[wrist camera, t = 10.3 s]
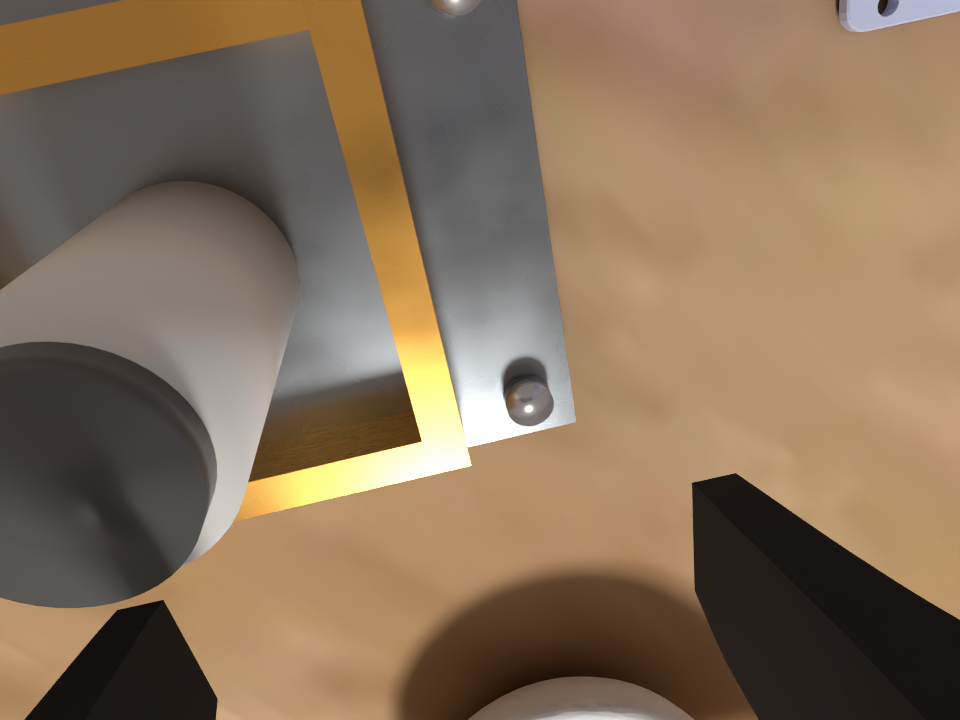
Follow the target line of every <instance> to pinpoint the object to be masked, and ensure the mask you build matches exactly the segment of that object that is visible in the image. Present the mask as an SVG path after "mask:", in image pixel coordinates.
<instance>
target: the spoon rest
mask: <svg viewBox="0 0 960 720" xmlns="http://www.w3.org/2000/svg"><path fill="white" fill-rule="evenodd" d="M468 720H694V719H693V718H692V717H691V716H689V715H688V714H687V713H685V712H684V711H683V710H682V709H680V708H679V707H677V706H676V705H674V704H673V703H671V702H670V701H668V700H667V699H665V698H663V697H662V696H660V695H658V694H656V693H654V692H652V691H650V690H648V689H645V688H643V687H641V686H638V685H635V684H632V683H628V682H624V681H620V680H616V679H610V678H601V677H580V676H578V677H561V678H555V679H550V680H545V681H541V682H537V683H534V684H530V685H527V686H524V687H521V688H519V689H517V690H514V691H512V692H510V693H508V694H506V695H504V696H502V697H500V698H498V699H497V700H495V701H493V702H492V703H490V704H488V705H487V706H485V707H483V708H482V709H481V710H480V711H478V712H477V713H476V714H474V715H473V716H472V717H471V718H469V719H468Z"/></svg>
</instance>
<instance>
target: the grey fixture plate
mask: <svg viewBox="0 0 960 720" xmlns="http://www.w3.org/2000/svg"><path fill="white" fill-rule="evenodd" d="M170 181H194V182H202V183H207V184H211V185H215V186H218V187H221V188H224V189H226V190H229V191H232V192H234V193H236V194H237V195H239V196H241V197H243V198H245V199H247V200H248V201H250V202H251V203H253V204H254V205H255V206H257V207H258V208H259V209H260V210H262V211H263V212H264V213H265V214H266V215H267V216H268V217H269V218H270V219H271V220H272V221H273V222H274V223H275V224H276V225H277V227H278V228H279V229H280V231H281V232H282V234H283V235H284V236H285V238H286V240H287V242H288V244H289V246H290V247H291V250H292V252H293V255H294V257H295V260H296V264H297V268H298V273H299V282H300V287H299V299H298V304H297V309H296V312H295V316H294V319H293V323H292V326H291V330H290V334H289V337H288V341H287V344H286V348H285V351H284V355H283V359H282V362H281V366H280V369H279V373H278V377H277V380H276V384H275V387H274V391H273V394H272V398H271V402H270V405H269V409H268V412H267V416H266V420H265V423H264V427H263V430H262V434H261V437H260V441H259V445H258V448H257V452H256V455H255V459H254V462H253V466H252V470H251V473H250V477H249V480H248V484H247V488H246V491H245V495H244V498H243V501H242V503H241V506H240V509H239V512H238V513H237V515H236V517H235V519H234V521H237V520H241V519H246V518H250V517H254V516H258V515H263V514H267V513H271V512H275V511H280V510H284V509H288V508H292V507H297V506H301V505H305V504H309V503H314V502H318V501H322V500H326V499H331V498H335V497H339V496H343V495H348V494H352V493H356V492H360V491H365V490H369V489H373V488H377V487H382V486H386V485H390V484H394V483H399V482H403V481H407V480H411V479H416V478H420V477H424V476H428V475H433V474H437V473H441V472H445V471H450V470H454V469H458V468H462V467H467V466H471V463H470V458H469V453H468V448H467V447H471V446H475V445H480V444H484V443H488V442H492V441H497V440H501V439H505V438H510V437H514V436H518V435H522V434H527V433H531V432H535V431H539V430H544V429H548V428H552V427H557V426H561V425H565V424H569V423H574V422H576V418H575V411H574V403H573V396H572V389H571V382H570V375H569V368H568V361H567V354H566V347H565V340H564V333H563V326H562V318H561V311H560V304H559V297H558V290H557V283H556V276H555V269H554V262H553V255H552V248H551V240H550V233H549V226H548V219H547V212H546V205H545V198H544V191H543V184H542V177H541V170H540V163H539V155H538V148H537V141H536V134H535V127H534V120H533V113H532V106H531V99H530V92H529V85H528V78H527V70H526V63H525V56H524V49H523V42H522V35H521V28H520V21H519V14H518V7H517V0H0V290H1V289H2V288H4V287H5V286H6V285H8V284H9V283H10V282H12V281H13V280H15V279H16V278H17V277H19V276H20V275H21V274H23V273H24V272H25V271H27V270H28V269H29V268H31V267H32V266H33V265H35V264H36V263H37V262H39V261H40V260H42V259H43V258H44V257H46V256H47V255H48V254H50V253H51V252H52V251H54V250H55V249H56V248H58V247H59V246H60V245H62V244H63V243H64V242H66V241H67V240H69V239H70V238H71V237H73V236H74V235H75V234H77V233H78V232H79V231H81V230H82V229H83V228H85V227H86V226H87V225H89V224H90V223H91V222H93V221H94V220H96V219H97V218H98V217H100V216H101V215H102V214H104V213H105V212H106V211H108V210H109V209H110V208H112V207H113V206H114V205H116V204H117V203H118V202H120V201H121V200H123V199H124V198H126V197H127V196H129V195H130V194H132V193H134V192H135V191H138V190H140V189H142V188H145V187H147V186H151V185H154V184H158V183H163V182H170Z"/></svg>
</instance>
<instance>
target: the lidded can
mask: <svg viewBox="0 0 960 720" xmlns="http://www.w3.org/2000/svg"><path fill="white" fill-rule="evenodd" d="M299 287H300V282H299V273H298V268H297V264H296V260H295V257H294V255H293V252H292V250H291V247H290V246H289V244H288V242H287V240H286V238H285V236H284V235H283V234H282V232H281V231H280V229H279V228H278V227H277V225H276V224H275V223H274V222H273V221H272V220H271V219H270V218H269V217H268V216H267V215H266V214H265V213H264V212H263V211H262V210H260V209H259V208H258V207H257V206H255V205H254V204H253V203H251V202H250V201H248V200H247V199H245V198H243V197H241V196H239V195H237V194H236V193H234V192H232V191H229V190H226V189H224V188H221V187H218V186H215V185H211V184H207V183H202V182H194V181H170V182H163V183H158V184H154V185H151V186H147V187H145V188H142V189H140V190H138V191H135V192H134V193H132V194H130V195H129V196H127V197H126V198H124V199H123V200H121V201H120V202H118V203H117V204H116V205H114V206H113V207H112V208H110V209H109V210H108V211H106V212H105V213H104V214H102V215H101V216H100V217H98V218H97V219H96V220H94V221H93V222H91V223H90V224H89V225H87V226H86V227H85V228H83V229H82V230H81V231H79V232H78V233H77V234H75V235H74V236H73V237H71V238H70V239H69V240H67V241H66V242H64V243H63V244H62V245H60V246H59V247H58V248H56V249H55V250H54V251H52V252H51V253H50V254H48V255H47V256H46V257H44V258H43V259H42V260H40V261H39V262H37V263H36V264H35V265H33V266H32V267H31V268H29V269H28V270H27V271H25V272H24V273H23V274H21V275H20V276H19V277H17V278H16V279H15V280H13V281H12V282H10V283H9V284H8V285H6V286H5V287H4V288H2V289H1V290H0V597H1V598H4V599H8V600H12V601H15V602H19V603H25V604H30V605H36V606H44V607H54V608H81V607H94V606H100V605H106V604H112V603H115V602H119V601H123V600H126V599H129V598H132V597H135V596H137V595H140V594H142V593H145V592H146V591H148V590H150V589H152V588H154V587H156V586H158V585H159V584H161V583H162V582H163V581H165V580H166V579H168V578H169V577H170V576H172V575H173V574H174V573H175V572H176V571H177V570H178V569H179V568H181V567H183V566H184V565H186V564H188V563H190V562H192V561H194V560H195V559H197V558H198V557H199V556H201V555H202V554H204V553H205V552H206V551H208V550H209V549H210V548H211V547H212V546H213V545H214V544H215V543H216V542H217V541H218V540H219V539H220V538H221V537H222V536H223V535H224V533H225V532H226V531H227V530H228V528H229V527H230V526H231V524H232V522H233V521H234V519H235V517H236V515H237V513H238V512H239V509H240V506H241V503H242V501H243V498H244V495H245V491H246V488H247V484H248V480H249V477H250V473H251V470H252V466H253V462H254V459H255V455H256V452H257V448H258V445H259V441H260V437H261V434H262V430H263V427H264V423H265V420H266V416H267V412H268V409H269V405H270V402H271V398H272V394H273V391H274V387H275V384H276V380H277V377H278V373H279V369H280V366H281V362H282V359H283V355H284V351H285V348H286V344H287V341H288V337H289V334H290V330H291V326H292V323H293V319H294V316H295V312H296V309H297V304H298V299H299Z"/></svg>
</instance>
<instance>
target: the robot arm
mask: <svg viewBox="0 0 960 720" xmlns="http://www.w3.org/2000/svg"><path fill="white" fill-rule="evenodd" d="M878 3H879V0H840V1H839V19H840V23H841V24H842V26H843V28H845V29H847V30H848V31H855V32H866V31H870V30H875V29H880V28H884V27H889V26H893V25H898V24H903V23H907V22H912V21H916V20H921V19H926V18H930V17H935V16H939V15H944V14H949V13H953V12H958V11H960V0H888V4H887V7H886V9H885V10H884V12H883V13H882V14H879V13H878V8H877V6H878ZM692 497H693V538H694V579H695V592H696V594H697V597H698V599H699V601H700V604H701V606H702V609H703V611H704V613H705V616H706V618H707V620H708V623H709V625H710V627H711V630H712V632H713V634H714V636H715V639H716V641H717V643H718V645H719V647H720V650H721V652H722V654H723V656H724V659H725V661H726V663H727V664H728V666H729V668H730V670H731V672H732V673H733V675H734V677H735V679H736V680H737V682H738V684H739V686H740V687H741V689H742V691H743V693H744V694H745V696H746V698H747V700H748V701H749V703H750V705H751V707H752V708H753V710H754V712H755V714H756V715H757V717H758V719H759V720H960V620H959V619H957V618H956V617H954V616H952V615H950V614H949V613H947V612H945V611H944V610H942V609H940V608H939V607H937V606H935V605H933V604H932V603H930V602H928V601H927V600H925V599H923V598H922V597H920V596H918V595H917V594H915V593H914V592H912V591H910V590H909V589H907V588H905V587H904V586H902V585H901V584H899V583H897V582H896V581H894V580H893V579H891V578H890V577H888V576H887V575H885V574H884V573H882V572H880V571H879V570H877V569H876V568H874V567H873V566H871V565H870V564H868V563H867V562H865V561H863V560H862V559H860V558H859V557H857V556H856V555H854V554H853V553H851V552H850V551H848V550H847V549H845V548H844V547H842V546H841V545H839V544H838V543H836V542H835V541H833V540H832V539H830V538H829V537H827V536H826V535H824V534H823V533H821V532H820V531H818V530H817V529H816V528H814V527H813V526H811V525H810V524H808V523H807V522H805V521H804V520H802V519H801V518H799V517H798V516H797V515H795V514H794V513H792V512H791V511H789V510H788V509H787V508H785V507H784V506H782V505H781V504H779V503H778V502H777V501H775V500H774V499H772V498H771V497H769V496H768V495H766V494H765V493H764V492H762V491H761V490H759V489H758V488H756V487H755V486H753V485H752V484H750V483H749V482H748V481H746V480H745V479H743V478H742V477H740V476H739V475H737V474H736V473H735V474H730V475H726V476H721V477H717V478H712V479H708V480H703V481H699V482H694V483H692ZM216 710H217V697H216V695H215V693H214V692H213V690H212V688H211V686H210V684H209V682H208V681H207V679H206V677H205V675H204V673H203V671H202V670H201V668H200V666H199V664H198V662H197V661H196V659H195V657H194V655H193V653H192V651H191V650H190V648H189V646H188V644H187V642H186V640H185V639H184V637H183V635H182V633H181V631H180V630H179V628H178V626H177V624H176V622H175V620H174V619H173V617H172V615H171V613H170V611H169V609H168V608H167V606H166V604H165V602H164V600H161V601H157V602H152V603H148V604H143V605H139V606H134V607H129V608H125V609H120V610H117V611H116V612H115V613H114V615H113V616H112V617H111V618H110V619H109V620H108V621H107V622H106V623H105V624H104V626H103V627H102V628H101V629H100V630H99V631H98V633H97V634H96V635H95V636H94V637H93V638H92V640H91V641H90V642H89V643H88V644H87V645H86V647H85V648H84V649H83V650H82V651H81V653H80V654H79V655H78V656H77V657H76V659H75V660H74V661H73V662H72V663H71V665H70V666H69V667H68V668H67V669H66V671H65V672H64V673H63V674H62V675H61V677H60V678H59V679H58V680H57V681H56V683H55V684H54V685H53V686H52V687H51V689H50V690H49V691H48V692H47V693H46V695H45V696H44V697H43V698H42V699H41V701H40V702H39V703H38V704H37V705H36V707H35V708H34V709H33V710H32V711H31V713H30V714H29V715H28V716H27V717H26V718H25V720H216Z"/></svg>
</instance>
